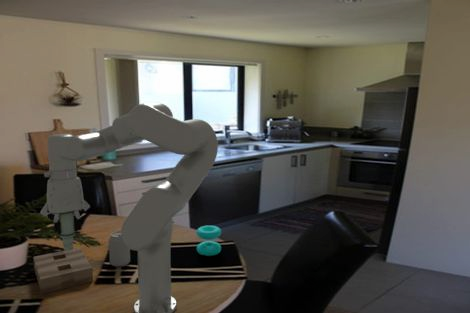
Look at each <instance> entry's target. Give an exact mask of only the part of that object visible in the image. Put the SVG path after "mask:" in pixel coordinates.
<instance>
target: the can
mask: <svg viewBox="0 0 470 313" xmlns="http://www.w3.org/2000/svg"><path fill="white" fill-rule="evenodd" d="M108 251H109V252H108V253H109V255H108V256H109V264H110V265H111V266H113V267H116V268H122V267H125V266H127V265H128V264H129V263H130V262H131V249H129V248H128V247H127V246H126V245H125V244H124V243H123V240H122V237H121V230H120V231H119V230H117V231H113V232H111V233H110V236H109V237H108Z"/></svg>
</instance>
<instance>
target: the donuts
mask: <svg viewBox="0 0 470 313" xmlns="http://www.w3.org/2000/svg"><path fill="white" fill-rule="evenodd" d="M221 234H222V229H221V228H220V227H218V226H216V225H203V226H200V227H198V228H197V229H196V235H197V237H199V238H200V239H202V240H205V241H202V242H200V243H198V244H197V246H196V251H197V253H198V254H199V255H202V256H204V255H205V257H212V256H216V255H218V254H220V252H221V251H222V246H221V245H220V243H219V242H217V241H214V240H216V239H218V238H220V237H221ZM212 240H213V241H212Z"/></svg>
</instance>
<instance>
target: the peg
mask: <svg viewBox="0 0 470 313" xmlns="http://www.w3.org/2000/svg"><path fill="white" fill-rule="evenodd" d="M58 220H59V222H60V231H61V234H60V235H59V237H60V238H62V246H63V251H69V250H72V249H74V236H76V231H75V225H74V211H71V212H65V213H59V217H58Z"/></svg>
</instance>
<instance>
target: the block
mask: <svg viewBox="0 0 470 313" xmlns="http://www.w3.org/2000/svg"><path fill="white" fill-rule="evenodd" d="M32 258H33V267H34V268H33V269H35V270H34V274H35V276H37V277H36V279H37V284H38V286H39V290H40V293H41V295H43V294H46V293H50V292H55V291H59V290H62V289H66V288H67V289H68V288H71V287H76V286H79V285H84V284H87V283H88V284H89V283H91V282H94V276H93V275H94V274H93V272H94V271H93V266H92V265H91V262H90V261H89V260H88V257H87V256H86V255H85V253H84V252H83V250H82V249H81V247H77V248H73V249H72V250H69V251H65V250H62V251H56V252H52V253H51V252H50V253H46V254H42V255H37V256H36V255H35V256H33V257H32Z"/></svg>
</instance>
